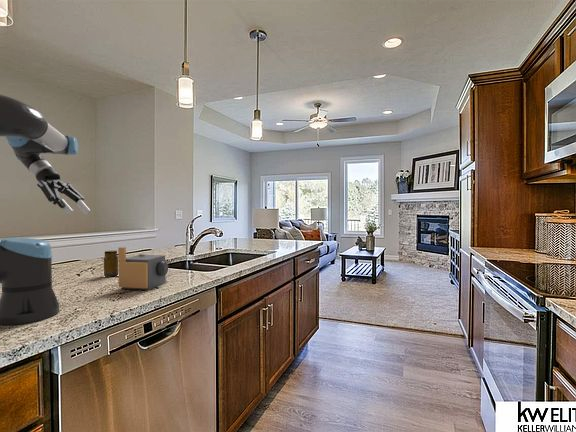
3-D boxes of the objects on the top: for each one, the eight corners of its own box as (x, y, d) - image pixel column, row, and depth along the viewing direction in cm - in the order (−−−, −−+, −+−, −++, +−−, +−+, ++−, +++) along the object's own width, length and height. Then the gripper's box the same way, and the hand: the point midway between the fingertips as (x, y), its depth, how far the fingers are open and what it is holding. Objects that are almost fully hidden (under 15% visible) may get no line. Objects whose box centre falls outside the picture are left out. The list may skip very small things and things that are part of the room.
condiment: (106, 274, 155) (105, 250, 155) (125, 274, 157) (124, 249, 156) (100, 277, 148) (100, 252, 148) (120, 277, 149) (119, 251, 149)
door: (146, 288, 124) (145, 248, 124) (118, 287, 126) (118, 247, 126) (148, 287, 125) (147, 247, 125) (120, 286, 127) (120, 247, 127)
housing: (153, 290, 125) (152, 257, 125) (121, 288, 128) (121, 257, 127) (169, 283, 137) (169, 253, 137) (140, 281, 140) (140, 252, 139)
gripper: (61, 182, 142) (93, 218, 139) (14, 178, 121) (50, 220, 119) (71, 170, 141) (104, 206, 138) (25, 163, 120) (62, 206, 118)
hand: (79, 212), depth 129 cm, fingers open, 8 cm apart
